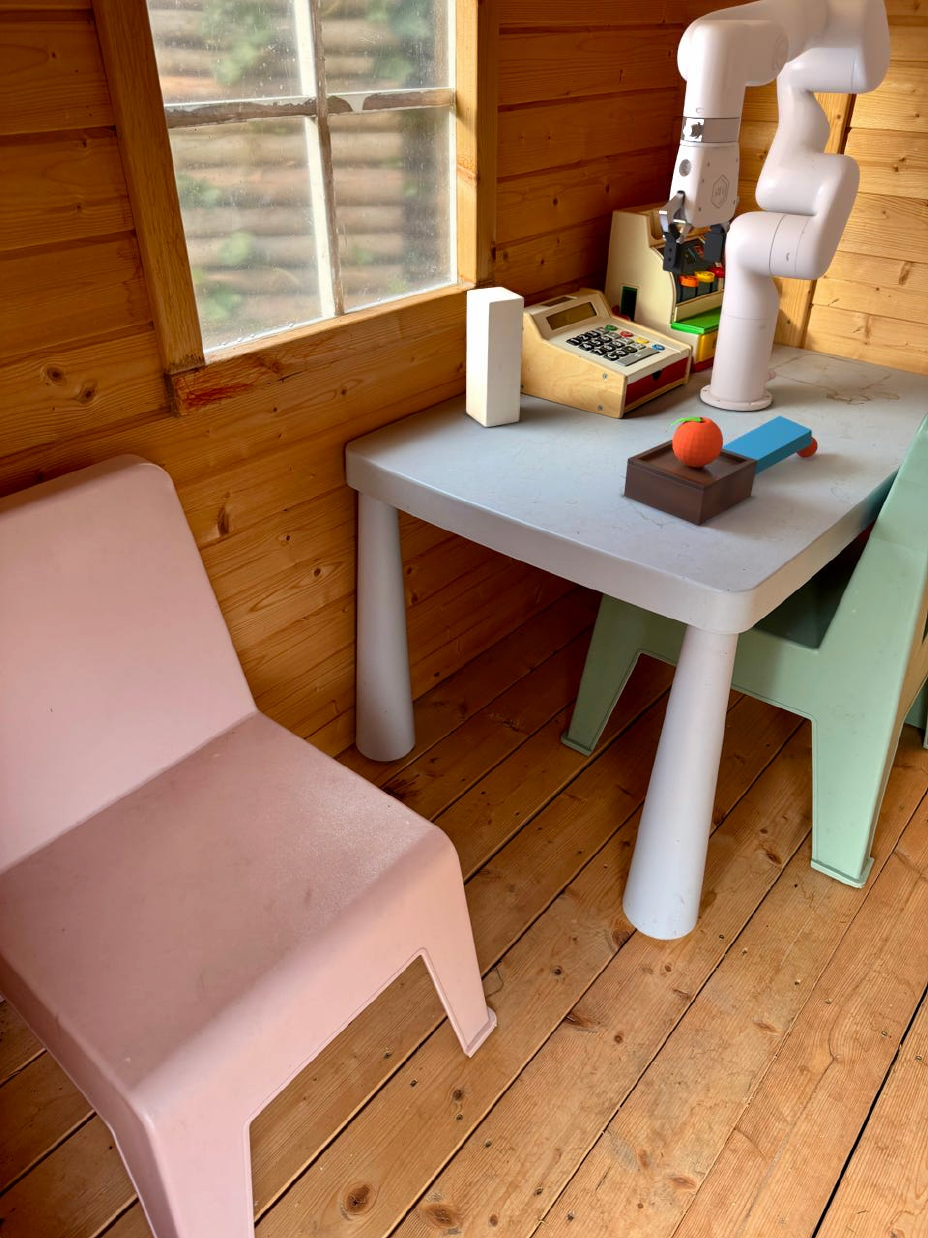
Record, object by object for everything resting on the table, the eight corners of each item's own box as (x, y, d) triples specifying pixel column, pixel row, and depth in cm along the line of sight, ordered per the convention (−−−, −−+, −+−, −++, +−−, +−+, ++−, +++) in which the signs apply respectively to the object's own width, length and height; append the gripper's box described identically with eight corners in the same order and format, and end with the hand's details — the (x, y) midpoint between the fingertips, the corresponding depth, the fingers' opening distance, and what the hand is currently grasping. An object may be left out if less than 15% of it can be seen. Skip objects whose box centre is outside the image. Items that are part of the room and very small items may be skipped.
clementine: (659, 471, 127) (665, 423, 123) (664, 452, 133) (669, 405, 129) (718, 477, 126) (726, 428, 122) (720, 458, 131) (727, 410, 127)
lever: (739, 510, 138) (830, 458, 142) (736, 471, 134) (831, 419, 138) (709, 492, 143) (798, 443, 147) (706, 455, 139) (798, 405, 143)
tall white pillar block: (524, 421, 157) (528, 296, 146) (486, 428, 155) (487, 301, 143) (502, 406, 163) (504, 285, 152) (465, 413, 161) (465, 290, 149)
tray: (677, 470, 140) (681, 434, 137) (750, 497, 132) (757, 459, 129) (623, 495, 132) (627, 458, 129) (698, 525, 124) (704, 486, 121)
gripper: (695, 139, 114) (678, 280, 124) (770, 129, 124) (749, 261, 133) (647, 134, 119) (634, 271, 128) (723, 125, 129) (705, 253, 138)
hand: (692, 266), depth 131 cm, fingers open, 9 cm apart
